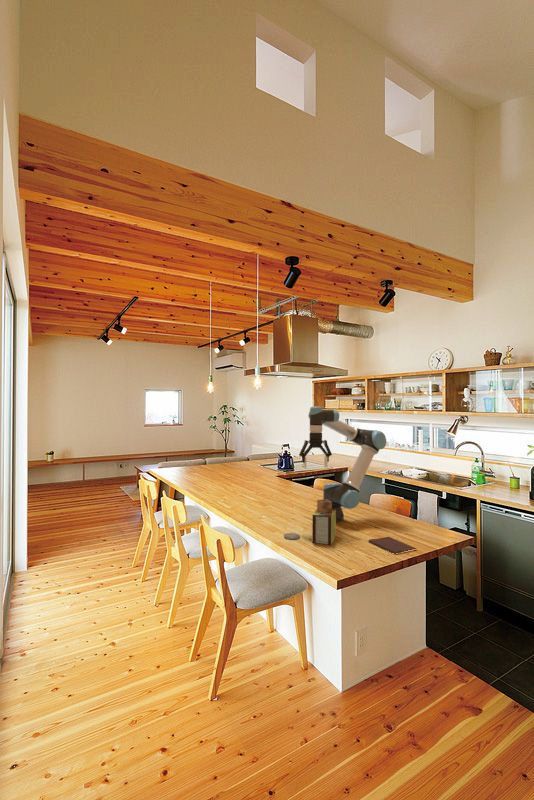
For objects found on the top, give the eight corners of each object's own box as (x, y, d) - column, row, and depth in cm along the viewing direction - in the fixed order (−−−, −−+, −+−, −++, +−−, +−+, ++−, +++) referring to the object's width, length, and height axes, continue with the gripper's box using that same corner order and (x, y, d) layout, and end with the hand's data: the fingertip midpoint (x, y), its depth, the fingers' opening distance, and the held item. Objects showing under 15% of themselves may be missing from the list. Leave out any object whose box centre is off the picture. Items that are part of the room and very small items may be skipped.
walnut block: (326, 509, 222) (326, 499, 222) (331, 512, 216) (331, 501, 216) (317, 510, 220) (317, 499, 220) (321, 513, 215) (321, 502, 215)
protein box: (335, 536, 224) (336, 509, 224) (331, 545, 209) (331, 516, 209) (317, 534, 227) (317, 507, 227) (311, 543, 213) (312, 514, 213)
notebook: (389, 539, 222) (389, 535, 222) (416, 551, 204) (416, 547, 204) (368, 543, 215) (368, 539, 215) (394, 555, 197) (394, 551, 197)
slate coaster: (296, 533, 227) (296, 532, 227) (302, 539, 218) (302, 537, 218) (281, 535, 225) (281, 533, 225) (286, 540, 216) (286, 539, 216)
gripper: (332, 431, 244) (331, 466, 243) (294, 431, 237) (293, 467, 237) (337, 432, 236) (337, 468, 236) (298, 432, 230) (298, 469, 229)
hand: (315, 467), depth 236 cm, fingers open, 13 cm apart
